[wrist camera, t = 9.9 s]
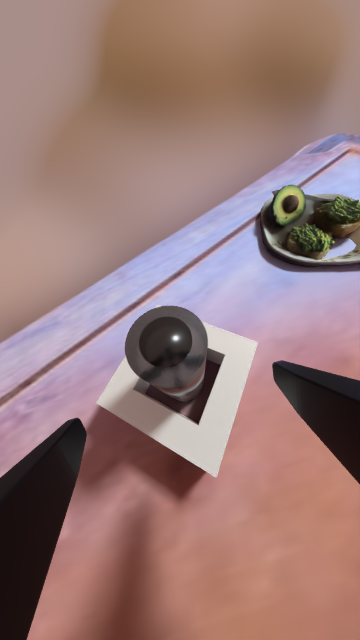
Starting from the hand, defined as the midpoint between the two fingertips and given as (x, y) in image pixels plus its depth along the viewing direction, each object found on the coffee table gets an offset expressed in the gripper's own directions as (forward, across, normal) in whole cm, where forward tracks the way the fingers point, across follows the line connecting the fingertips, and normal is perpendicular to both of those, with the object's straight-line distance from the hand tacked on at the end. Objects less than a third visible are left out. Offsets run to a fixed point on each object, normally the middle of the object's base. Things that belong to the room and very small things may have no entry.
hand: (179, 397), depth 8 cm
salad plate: (+23, -26, -6) cm, 35 cm away
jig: (+11, 0, +6) cm, 12 cm away
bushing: (+11, 0, +6) cm, 12 cm away
